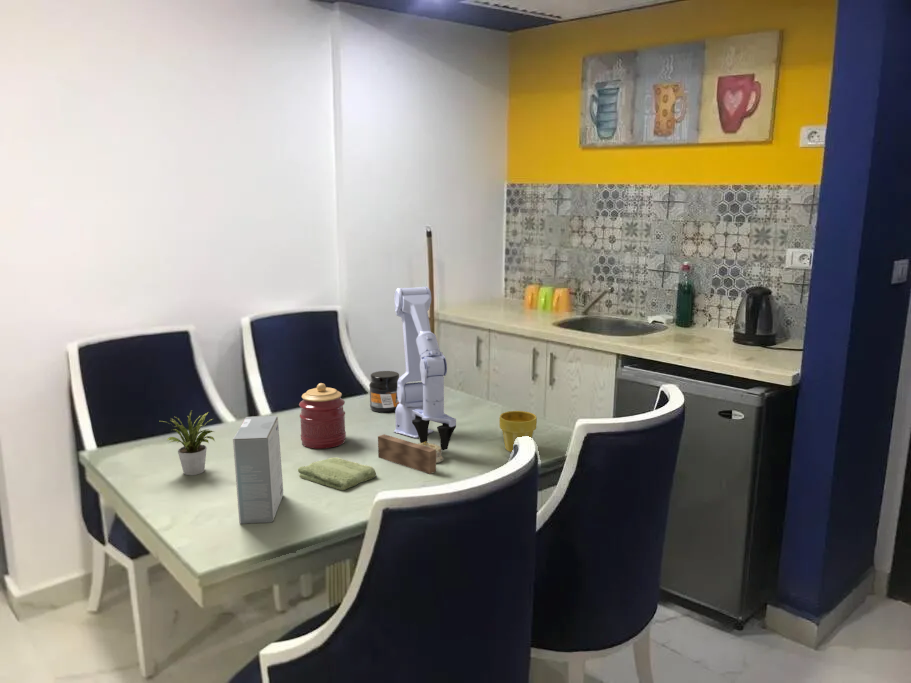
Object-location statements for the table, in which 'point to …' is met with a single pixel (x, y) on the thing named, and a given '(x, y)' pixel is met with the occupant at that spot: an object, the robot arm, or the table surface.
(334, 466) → the washcloth
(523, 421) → the plant pot
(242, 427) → the hard drive box
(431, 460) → the walnut board
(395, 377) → the supplement container
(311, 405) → the canister
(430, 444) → the cake
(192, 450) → the house plant
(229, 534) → the table surface
